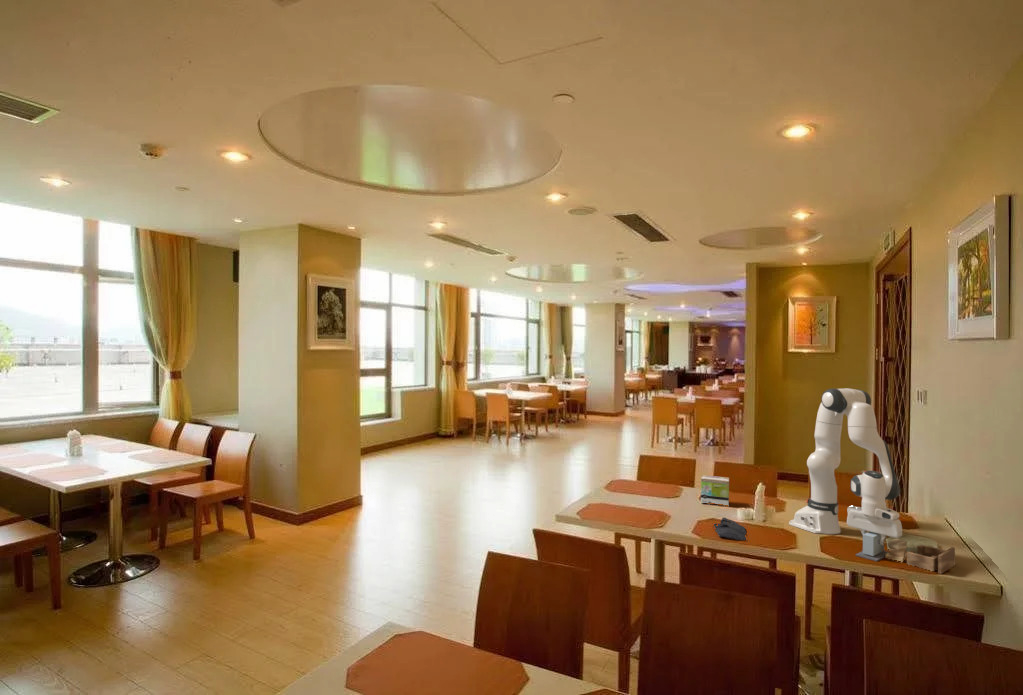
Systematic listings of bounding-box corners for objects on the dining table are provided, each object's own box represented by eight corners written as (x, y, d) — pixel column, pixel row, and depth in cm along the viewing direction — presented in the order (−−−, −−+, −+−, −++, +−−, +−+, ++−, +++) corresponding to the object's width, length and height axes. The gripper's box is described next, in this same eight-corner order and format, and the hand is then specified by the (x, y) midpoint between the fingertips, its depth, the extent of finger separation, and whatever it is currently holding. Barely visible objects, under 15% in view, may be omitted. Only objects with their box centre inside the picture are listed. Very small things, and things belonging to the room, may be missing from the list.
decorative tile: (935, 545, 246) (935, 538, 246) (940, 560, 230) (940, 551, 230) (885, 537, 257) (885, 530, 257) (886, 550, 240) (886, 542, 240)
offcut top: (887, 546, 232) (887, 540, 232) (896, 544, 234) (896, 538, 234) (897, 549, 228) (897, 543, 228) (906, 547, 231) (906, 541, 231)
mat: (855, 555, 233) (855, 554, 233) (870, 548, 242) (870, 546, 242) (876, 561, 226) (876, 560, 226) (891, 553, 235) (891, 552, 235)
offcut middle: (889, 554, 230) (889, 548, 230) (892, 549, 236) (892, 543, 236) (903, 557, 226) (903, 551, 226) (906, 551, 232) (906, 546, 232)
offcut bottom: (885, 560, 230) (885, 554, 230) (892, 554, 237) (892, 548, 237) (902, 564, 226) (902, 558, 226) (909, 558, 232) (909, 552, 232)
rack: (906, 564, 223) (906, 547, 223) (921, 556, 233) (921, 539, 233) (941, 574, 214) (941, 556, 214) (954, 564, 223) (954, 547, 223)
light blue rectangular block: (862, 553, 233) (862, 534, 233) (873, 547, 239) (873, 529, 239) (873, 556, 229) (873, 537, 229) (884, 550, 236) (884, 532, 236)
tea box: (700, 504, 310) (700, 478, 310) (701, 499, 320) (701, 474, 320) (728, 507, 305) (729, 480, 305) (729, 502, 314) (729, 476, 314)
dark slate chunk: (713, 539, 254) (713, 529, 254) (712, 525, 275) (712, 515, 275) (749, 543, 249) (749, 533, 249) (745, 528, 269) (746, 519, 270)
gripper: (844, 505, 241) (844, 536, 241) (897, 517, 224) (897, 551, 224) (850, 503, 245) (850, 534, 245) (903, 514, 228) (903, 547, 228)
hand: (873, 542), depth 234 cm, fingers closed on light blue rectangular block, 4 cm apart
